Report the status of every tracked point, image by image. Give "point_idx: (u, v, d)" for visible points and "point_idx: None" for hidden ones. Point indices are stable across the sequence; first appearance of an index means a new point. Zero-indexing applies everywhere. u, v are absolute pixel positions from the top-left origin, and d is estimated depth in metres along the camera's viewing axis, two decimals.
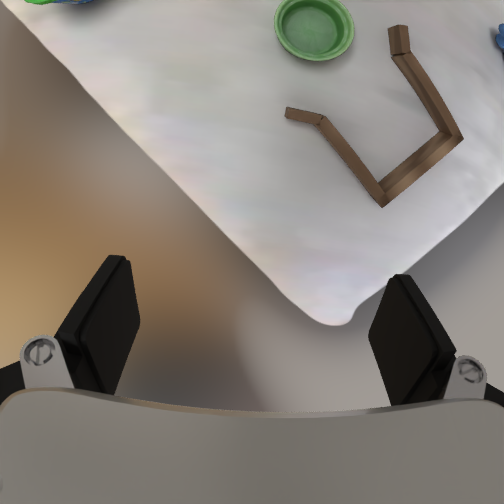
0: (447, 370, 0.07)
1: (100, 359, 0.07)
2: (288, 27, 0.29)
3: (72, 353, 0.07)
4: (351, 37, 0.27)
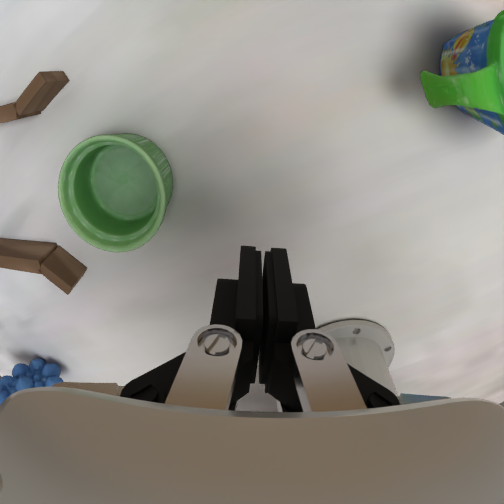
0: None
1: None
2: (146, 161, 0.23)
3: (241, 340, 0.08)
4: (70, 223, 0.21)
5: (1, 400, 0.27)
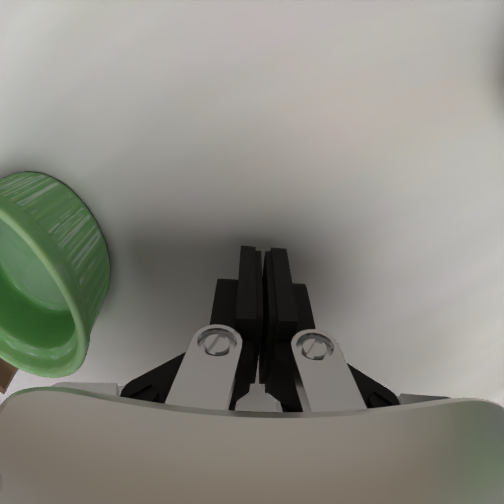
0: None
1: None
2: None
3: (241, 340, 0.08)
4: None
5: None
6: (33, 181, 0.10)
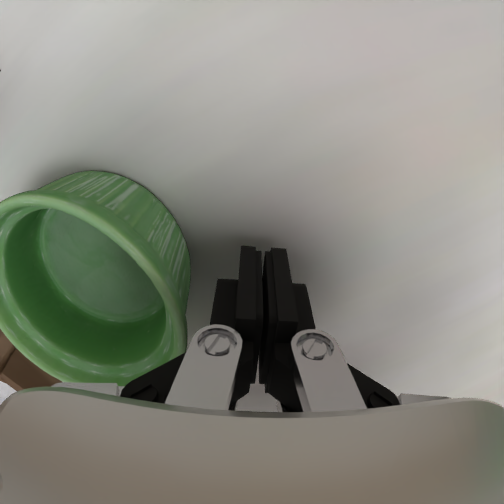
0: None
1: None
2: None
3: (241, 340, 0.08)
4: (16, 345, 0.10)
5: None
6: (110, 181, 0.10)
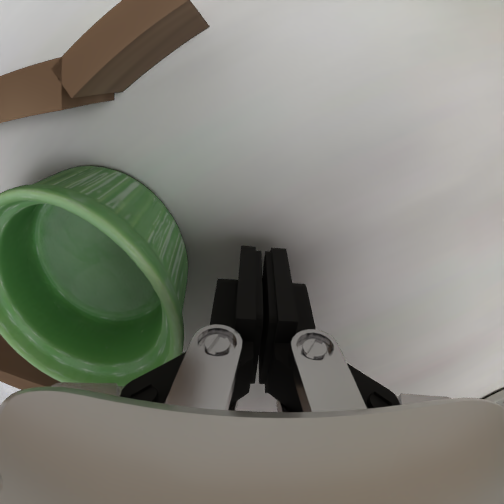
0: None
1: None
2: None
3: (241, 340, 0.08)
4: (7, 340, 0.10)
5: None
6: (111, 178, 0.09)
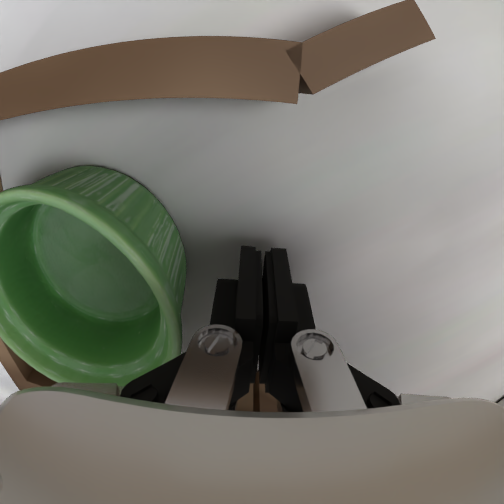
0: None
1: None
2: None
3: (241, 340, 0.08)
4: (4, 339, 0.09)
5: None
6: (111, 179, 0.09)
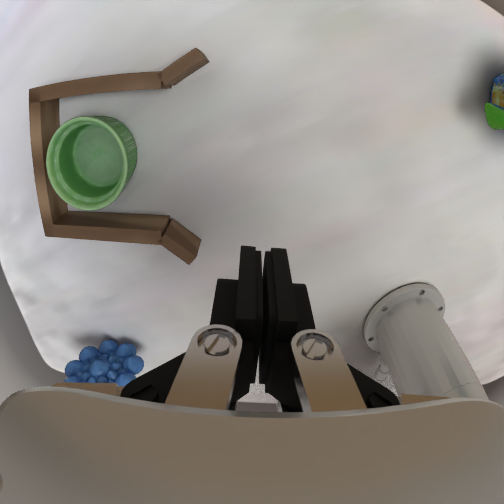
0: None
1: None
2: None
3: (241, 340, 0.08)
4: (54, 186, 0.25)
5: None
6: (110, 119, 0.25)
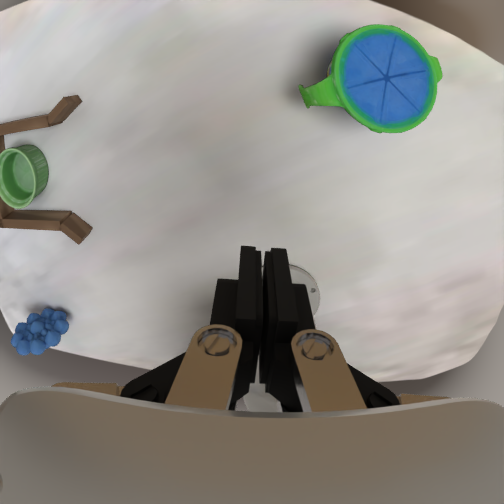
0: None
1: None
2: None
3: (241, 340, 0.08)
4: None
5: (17, 340, 0.40)
6: (30, 147, 0.33)
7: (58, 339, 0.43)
